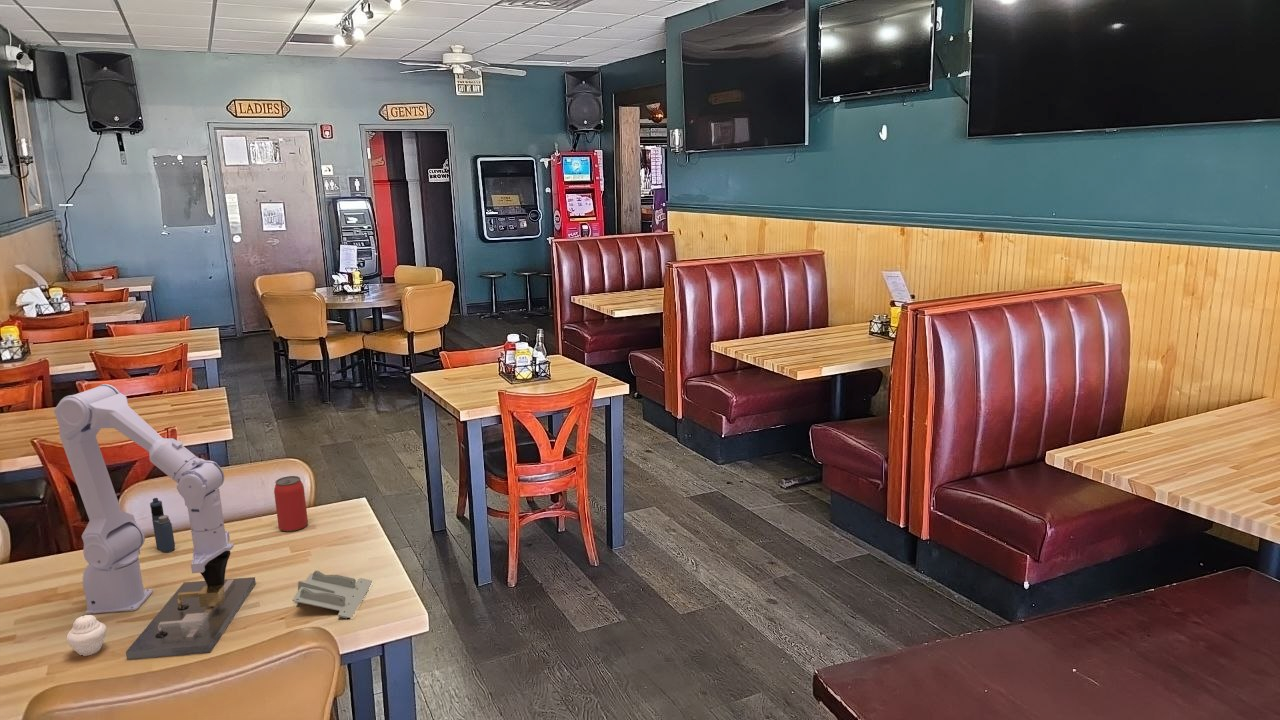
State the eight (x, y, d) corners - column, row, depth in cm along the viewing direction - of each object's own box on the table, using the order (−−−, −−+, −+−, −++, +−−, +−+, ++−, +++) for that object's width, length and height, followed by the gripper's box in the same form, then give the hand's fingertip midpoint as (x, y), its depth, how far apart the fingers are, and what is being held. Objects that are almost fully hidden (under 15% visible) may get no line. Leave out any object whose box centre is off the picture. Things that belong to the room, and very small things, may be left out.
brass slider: (175, 612, 163) (173, 595, 162) (182, 604, 166) (179, 588, 165) (220, 608, 164) (218, 592, 163) (225, 600, 167) (223, 584, 166)
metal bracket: (285, 595, 161) (311, 559, 175) (279, 623, 162) (306, 585, 177) (361, 611, 162) (380, 575, 177) (355, 638, 164) (375, 599, 178)
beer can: (273, 531, 203) (267, 484, 200) (288, 520, 209) (283, 474, 207) (298, 533, 202) (292, 485, 199) (313, 521, 208) (308, 475, 205)
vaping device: (166, 544, 197) (158, 495, 195) (177, 549, 194) (169, 500, 192) (154, 548, 195) (146, 499, 193) (165, 554, 192) (158, 504, 190)
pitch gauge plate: (126, 659, 151) (123, 636, 150) (185, 589, 176) (181, 569, 175) (210, 652, 152) (206, 629, 151) (255, 583, 177) (253, 563, 176)
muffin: (61, 657, 152) (54, 621, 150) (93, 639, 158) (87, 605, 156) (86, 663, 150) (79, 627, 148) (117, 645, 155) (111, 610, 154)
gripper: (215, 539, 157) (225, 606, 160) (241, 509, 171) (250, 571, 174) (175, 542, 157) (185, 609, 160) (204, 511, 171) (213, 574, 174)
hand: (216, 590), depth 167 cm, fingers closed
